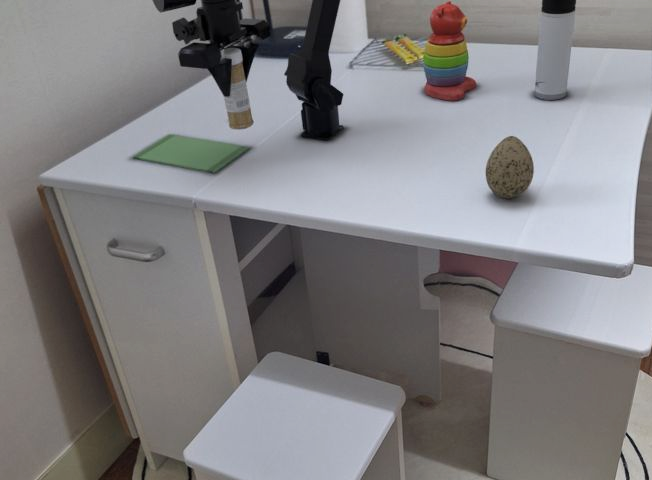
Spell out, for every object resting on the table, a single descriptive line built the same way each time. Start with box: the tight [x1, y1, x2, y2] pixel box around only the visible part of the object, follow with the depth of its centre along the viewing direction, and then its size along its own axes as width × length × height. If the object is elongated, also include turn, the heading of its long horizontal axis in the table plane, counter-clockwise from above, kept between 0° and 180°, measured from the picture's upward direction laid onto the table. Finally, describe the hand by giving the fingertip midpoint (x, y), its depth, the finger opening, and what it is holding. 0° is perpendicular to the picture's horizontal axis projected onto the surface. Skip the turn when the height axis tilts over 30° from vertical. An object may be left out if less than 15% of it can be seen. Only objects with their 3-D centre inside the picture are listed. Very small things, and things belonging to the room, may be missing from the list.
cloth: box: [132, 134, 250, 174], centre depth 133 cm, size 20×11×1 cm, turn 60°
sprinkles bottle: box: [223, 48, 254, 130], centre depth 121 cm, size 5×5×14 cm
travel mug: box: [533, 0, 577, 101], centre depth 135 cm, size 6×7×20 cm
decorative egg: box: [485, 135, 535, 200], centre depth 106 cm, size 7×7×10 cm
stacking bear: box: [422, 0, 477, 102], centre depth 143 cm, size 11×10×18 cm
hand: (234, 91), depth 122 cm, fingers closed on sprinkles bottle, 4 cm apart
